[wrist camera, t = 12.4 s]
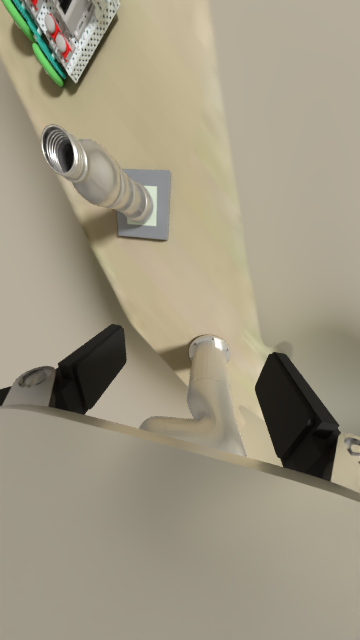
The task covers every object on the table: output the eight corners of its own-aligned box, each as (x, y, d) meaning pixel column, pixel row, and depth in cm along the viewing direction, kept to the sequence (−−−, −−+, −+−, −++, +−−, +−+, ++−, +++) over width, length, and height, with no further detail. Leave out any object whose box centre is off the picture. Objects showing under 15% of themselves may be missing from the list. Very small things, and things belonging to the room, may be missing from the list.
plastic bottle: (149, 230, 34) (84, 206, 16) (123, 214, 33) (26, 172, 16) (161, 198, 31) (96, 125, 13) (132, 181, 31) (25, 81, 13)
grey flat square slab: (168, 240, 35) (166, 239, 34) (121, 235, 37) (118, 235, 36) (171, 174, 30) (169, 170, 29) (117, 172, 32) (113, 168, 30)
